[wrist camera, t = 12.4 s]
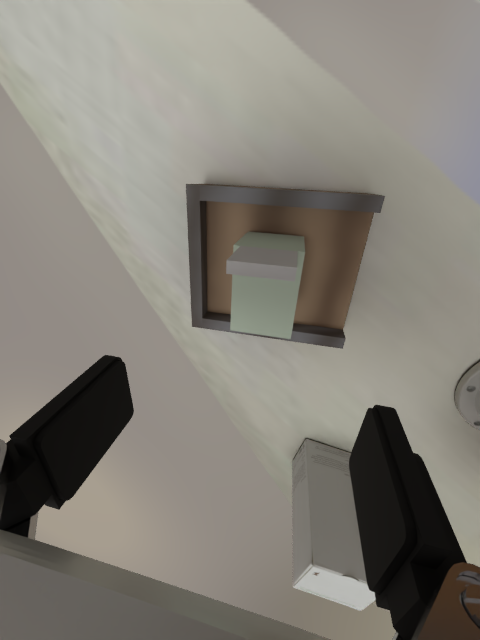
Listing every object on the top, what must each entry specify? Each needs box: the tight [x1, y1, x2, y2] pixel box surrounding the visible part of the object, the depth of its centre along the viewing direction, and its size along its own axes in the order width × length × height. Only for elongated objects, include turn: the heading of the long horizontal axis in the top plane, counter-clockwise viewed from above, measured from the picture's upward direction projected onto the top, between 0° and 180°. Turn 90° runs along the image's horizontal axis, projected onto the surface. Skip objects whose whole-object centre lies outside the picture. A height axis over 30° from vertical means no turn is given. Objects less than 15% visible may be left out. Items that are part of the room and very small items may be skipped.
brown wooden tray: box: [186, 184, 385, 349], centre depth 27 cm, size 16×14×5 cm
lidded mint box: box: [226, 232, 305, 339], centre depth 21 cm, size 5×7×11 cm
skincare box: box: [292, 439, 376, 611], centre depth 35 cm, size 8×7×16 cm
